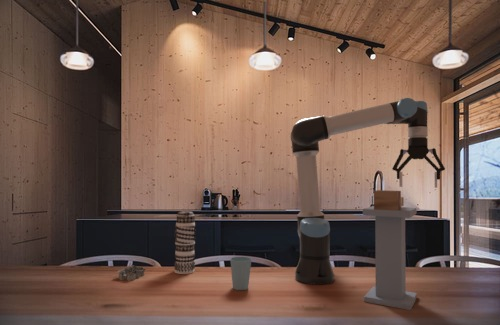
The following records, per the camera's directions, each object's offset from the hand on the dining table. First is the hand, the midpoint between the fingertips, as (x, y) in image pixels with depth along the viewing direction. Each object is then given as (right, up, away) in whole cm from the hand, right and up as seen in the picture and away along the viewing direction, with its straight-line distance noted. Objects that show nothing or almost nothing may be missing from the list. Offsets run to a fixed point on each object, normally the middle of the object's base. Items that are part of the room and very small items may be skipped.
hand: (418, 187), depth 152 cm
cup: (-75, -35, -24) cm, 86 cm away
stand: (-25, -35, -34) cm, 55 cm away
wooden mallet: (-22, -5, -28) cm, 36 cm away
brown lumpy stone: (-118, -35, -11) cm, 124 cm away
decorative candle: (-99, -36, -2) cm, 105 cm away
